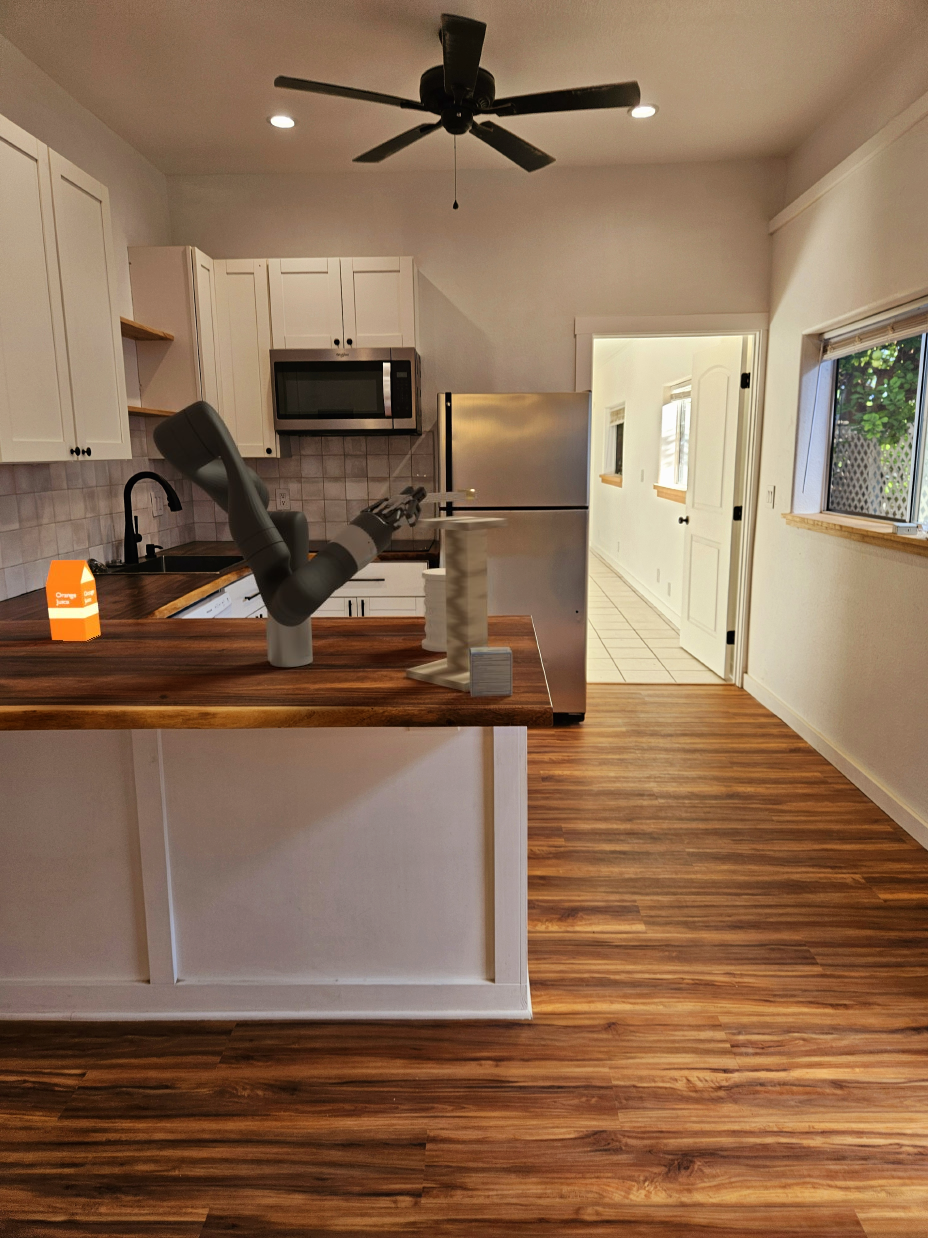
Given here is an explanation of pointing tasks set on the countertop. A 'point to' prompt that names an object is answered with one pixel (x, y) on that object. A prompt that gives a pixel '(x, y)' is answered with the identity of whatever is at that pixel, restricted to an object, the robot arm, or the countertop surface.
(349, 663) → the countertop surface
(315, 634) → the countertop surface
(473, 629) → the tool stand
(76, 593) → the orange juice
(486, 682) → the medicine box
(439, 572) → the decorative container
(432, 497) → the slotted wooden block
